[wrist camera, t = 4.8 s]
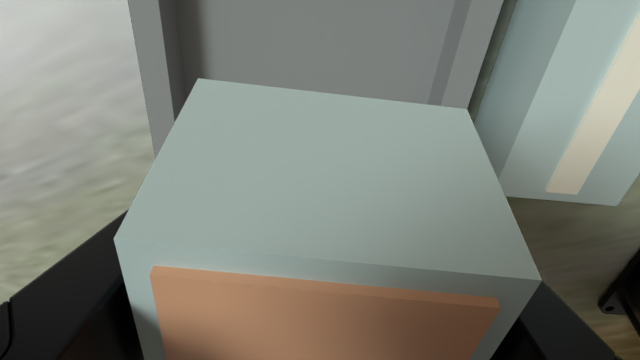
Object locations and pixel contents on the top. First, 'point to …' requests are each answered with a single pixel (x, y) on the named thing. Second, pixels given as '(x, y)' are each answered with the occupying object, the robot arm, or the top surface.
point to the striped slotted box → (565, 101)
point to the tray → (311, 49)
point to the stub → (321, 232)
